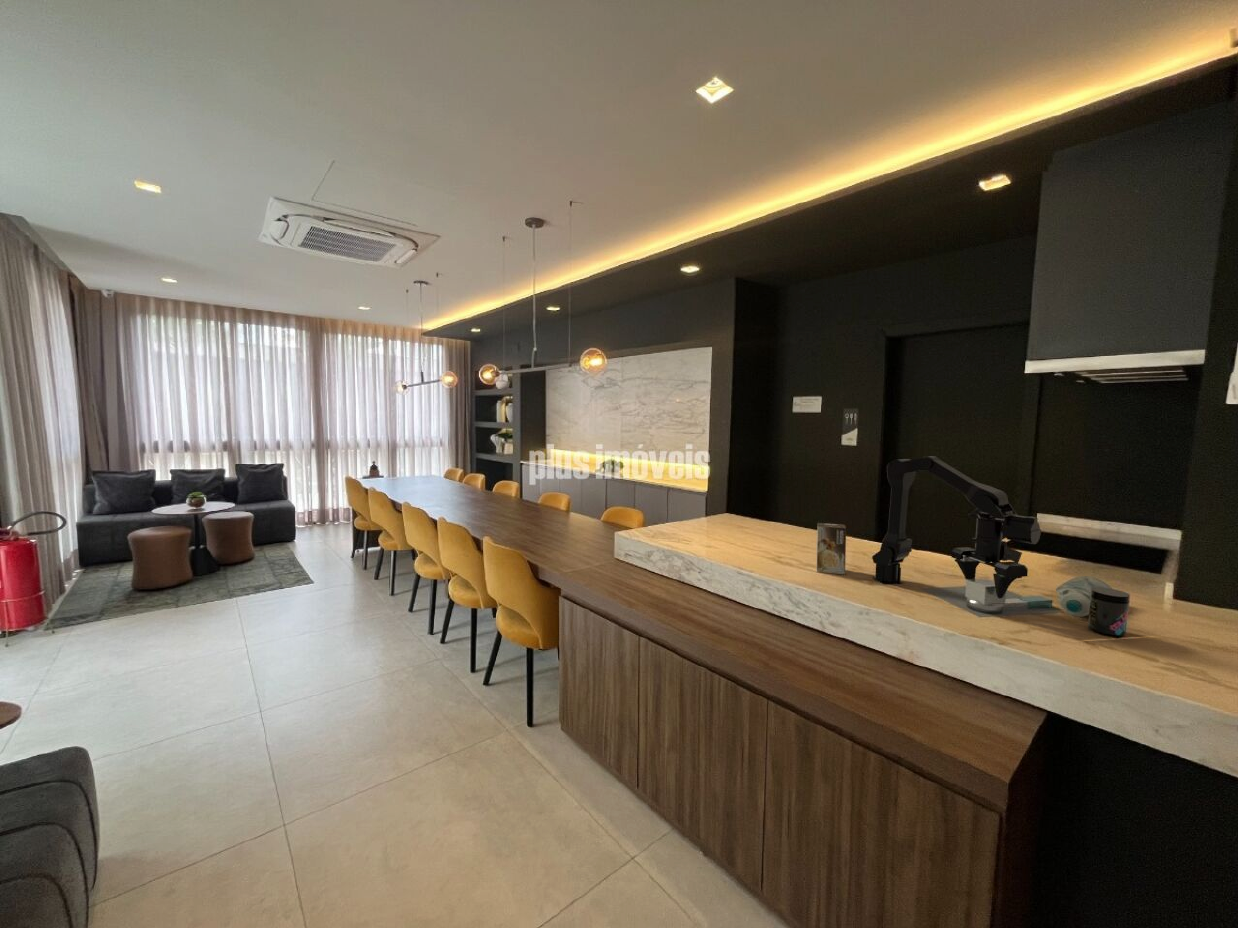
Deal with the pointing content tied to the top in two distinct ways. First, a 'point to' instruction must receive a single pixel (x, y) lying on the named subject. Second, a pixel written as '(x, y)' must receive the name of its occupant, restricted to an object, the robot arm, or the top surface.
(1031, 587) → the top surface
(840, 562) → the coffee box
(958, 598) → the tool mat
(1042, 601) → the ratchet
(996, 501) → the robot arm
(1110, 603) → the supplement container
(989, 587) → the grey block
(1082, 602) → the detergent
